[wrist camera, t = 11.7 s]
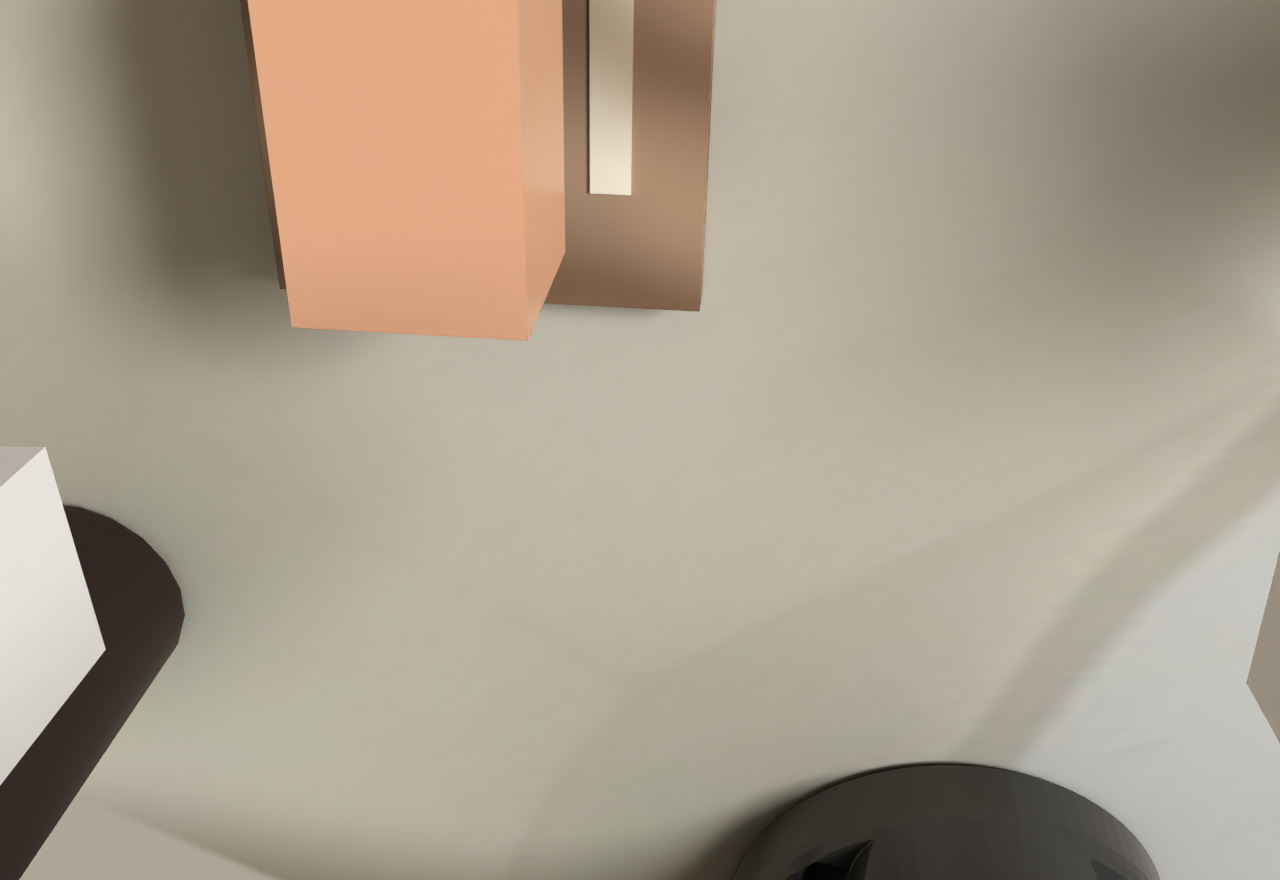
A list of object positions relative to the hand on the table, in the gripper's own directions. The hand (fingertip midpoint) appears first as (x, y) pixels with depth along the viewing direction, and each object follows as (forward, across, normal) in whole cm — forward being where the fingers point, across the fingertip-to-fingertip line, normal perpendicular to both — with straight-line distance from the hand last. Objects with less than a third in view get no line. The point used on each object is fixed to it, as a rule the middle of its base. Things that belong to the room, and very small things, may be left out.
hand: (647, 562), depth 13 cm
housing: (+16, +6, -3) cm, 17 cm away
